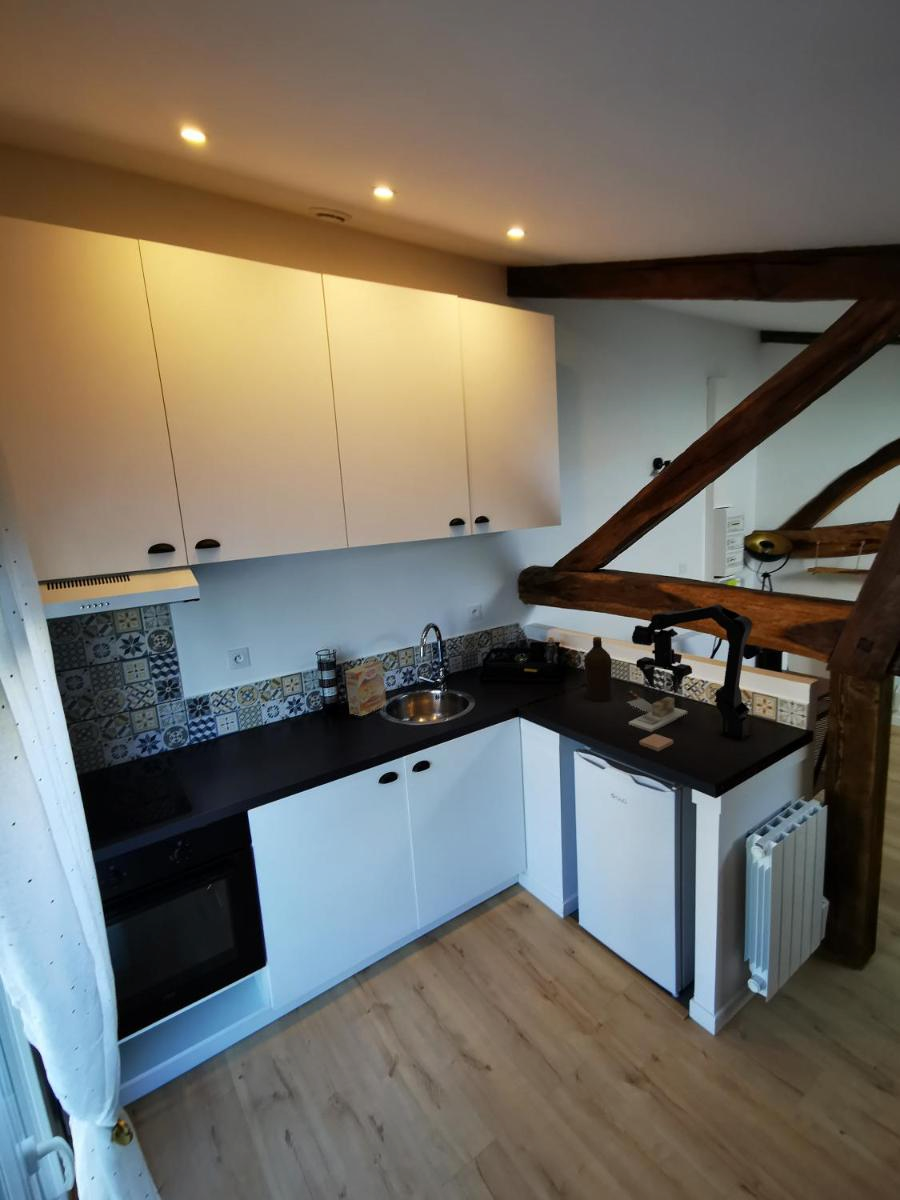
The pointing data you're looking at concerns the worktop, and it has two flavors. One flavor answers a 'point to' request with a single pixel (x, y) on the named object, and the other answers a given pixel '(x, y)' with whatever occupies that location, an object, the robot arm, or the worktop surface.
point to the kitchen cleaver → (640, 702)
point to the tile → (656, 742)
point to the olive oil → (598, 672)
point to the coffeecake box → (365, 688)
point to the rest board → (666, 720)
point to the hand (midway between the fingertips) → (663, 689)
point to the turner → (658, 711)
